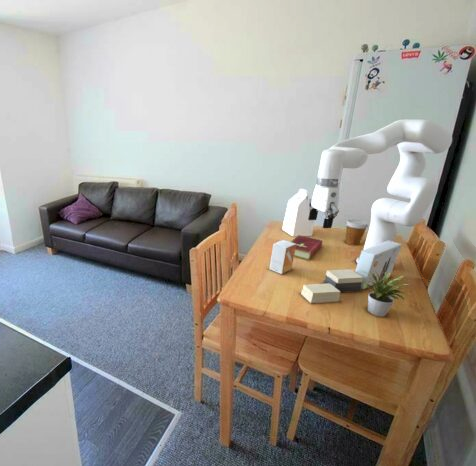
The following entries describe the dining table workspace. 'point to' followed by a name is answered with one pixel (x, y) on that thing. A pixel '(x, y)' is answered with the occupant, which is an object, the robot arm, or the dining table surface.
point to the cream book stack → (320, 293)
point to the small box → (282, 256)
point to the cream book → (344, 276)
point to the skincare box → (377, 261)
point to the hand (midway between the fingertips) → (319, 223)
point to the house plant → (382, 295)
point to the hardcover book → (306, 246)
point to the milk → (298, 215)
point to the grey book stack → (344, 285)
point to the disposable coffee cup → (355, 231)
